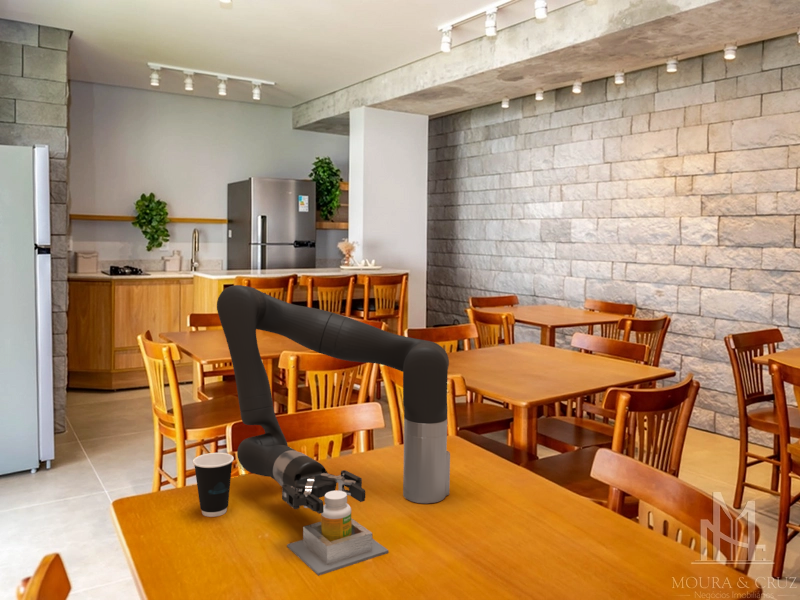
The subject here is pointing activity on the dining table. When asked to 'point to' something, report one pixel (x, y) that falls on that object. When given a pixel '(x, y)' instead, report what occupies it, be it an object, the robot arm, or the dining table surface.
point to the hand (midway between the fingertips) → (343, 502)
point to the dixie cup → (213, 482)
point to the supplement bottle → (336, 516)
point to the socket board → (335, 548)
